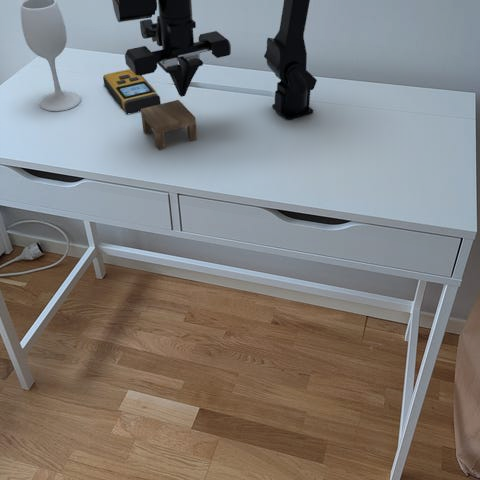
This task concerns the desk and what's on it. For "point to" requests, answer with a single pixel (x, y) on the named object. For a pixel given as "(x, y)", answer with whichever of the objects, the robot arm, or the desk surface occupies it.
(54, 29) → the wineglass
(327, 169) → the desk surface
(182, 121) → the footstool
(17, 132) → the desk surface
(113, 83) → the electronic device
